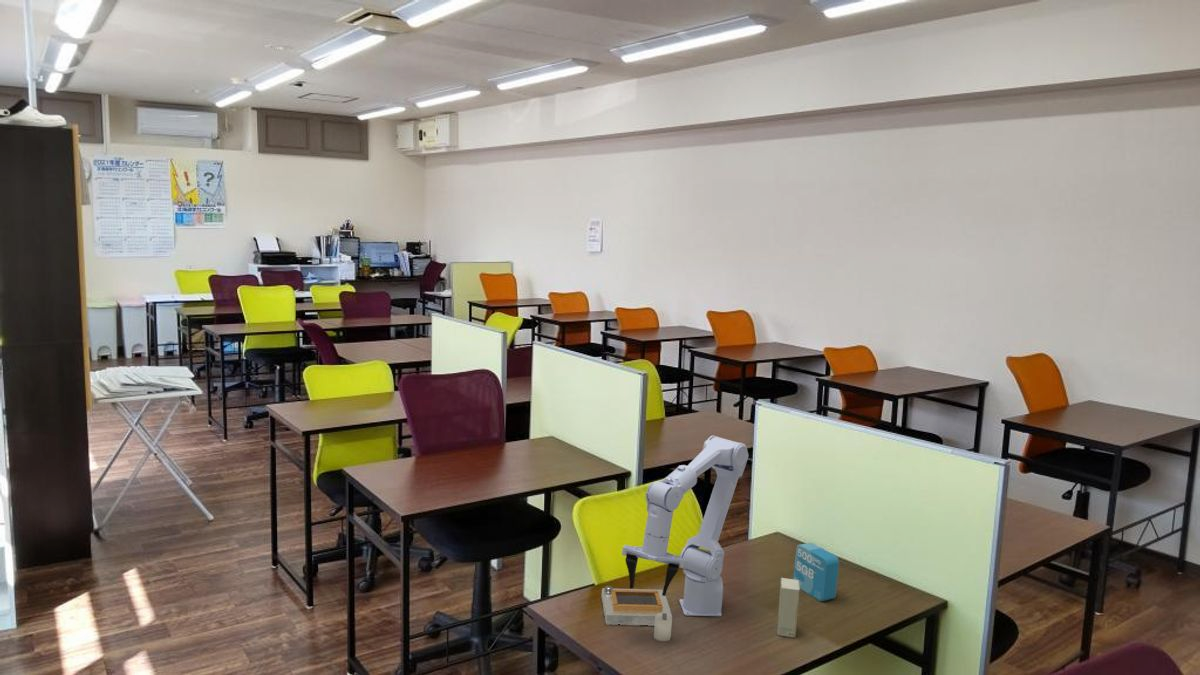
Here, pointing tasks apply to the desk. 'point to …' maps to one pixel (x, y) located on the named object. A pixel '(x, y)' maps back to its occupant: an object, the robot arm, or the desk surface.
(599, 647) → the desk surface
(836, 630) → the desk surface
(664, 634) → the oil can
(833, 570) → the data package
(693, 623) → the desk surface
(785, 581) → the skincare box
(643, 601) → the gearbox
